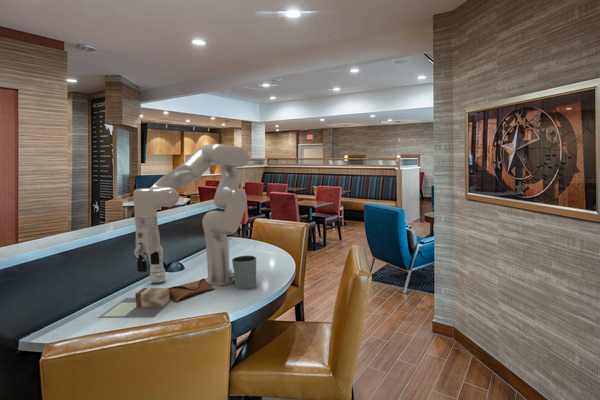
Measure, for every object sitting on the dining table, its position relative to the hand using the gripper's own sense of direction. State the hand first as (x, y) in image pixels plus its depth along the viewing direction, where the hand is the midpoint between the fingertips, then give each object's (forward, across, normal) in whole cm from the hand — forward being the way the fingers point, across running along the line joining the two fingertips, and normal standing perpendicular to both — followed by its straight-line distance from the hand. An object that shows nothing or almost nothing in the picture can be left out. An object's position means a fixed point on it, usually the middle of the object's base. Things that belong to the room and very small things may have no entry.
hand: (149, 267), depth 130 cm
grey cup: (+14, +20, -32) cm, 40 cm away
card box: (+14, +1, 0) cm, 14 cm away
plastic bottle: (+14, +26, +10) cm, 31 cm away
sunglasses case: (+14, +11, -12) cm, 21 cm away
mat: (+14, -2, +4) cm, 15 cm away
